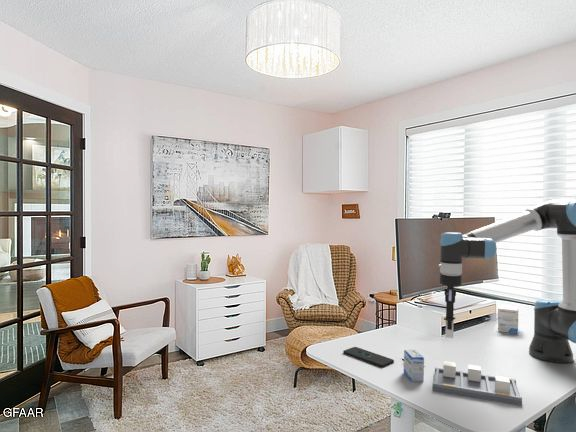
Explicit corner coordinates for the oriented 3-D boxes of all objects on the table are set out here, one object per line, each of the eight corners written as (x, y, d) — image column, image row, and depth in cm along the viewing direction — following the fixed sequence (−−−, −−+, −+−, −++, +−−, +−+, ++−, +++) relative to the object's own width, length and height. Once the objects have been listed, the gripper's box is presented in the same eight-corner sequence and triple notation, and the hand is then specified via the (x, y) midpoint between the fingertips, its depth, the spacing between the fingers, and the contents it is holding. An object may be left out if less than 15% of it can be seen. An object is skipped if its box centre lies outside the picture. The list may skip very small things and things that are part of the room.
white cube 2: (480, 377, 139) (480, 366, 139) (480, 382, 136) (481, 370, 136) (467, 375, 141) (467, 364, 141) (468, 380, 137) (468, 368, 137)
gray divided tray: (515, 385, 136) (515, 378, 136) (522, 405, 123) (522, 398, 123) (435, 373, 147) (435, 366, 147) (432, 390, 133) (432, 383, 133)
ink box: (518, 329, 199) (518, 306, 199) (517, 334, 192) (517, 310, 191) (499, 327, 203) (499, 304, 203) (497, 331, 196) (497, 307, 196)
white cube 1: (508, 389, 130) (508, 377, 130) (509, 394, 126) (510, 382, 126) (494, 387, 132) (494, 375, 132) (495, 392, 128) (496, 380, 128)
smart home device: (355, 346, 172) (394, 359, 157) (355, 350, 172) (394, 363, 157) (342, 350, 166) (382, 364, 151) (342, 354, 166) (382, 369, 151)
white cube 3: (455, 373, 142) (455, 362, 142) (455, 378, 139) (455, 366, 139) (443, 371, 144) (443, 361, 144) (443, 376, 140) (443, 365, 140)
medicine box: (403, 372, 147) (403, 349, 147) (415, 372, 148) (415, 349, 147) (411, 381, 139) (412, 357, 139) (424, 381, 140) (424, 357, 139)
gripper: (440, 270, 155) (439, 330, 155) (439, 275, 143) (437, 341, 143) (461, 272, 152) (460, 333, 152) (461, 277, 140) (460, 344, 140)
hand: (449, 337), depth 148 cm, fingers closed
